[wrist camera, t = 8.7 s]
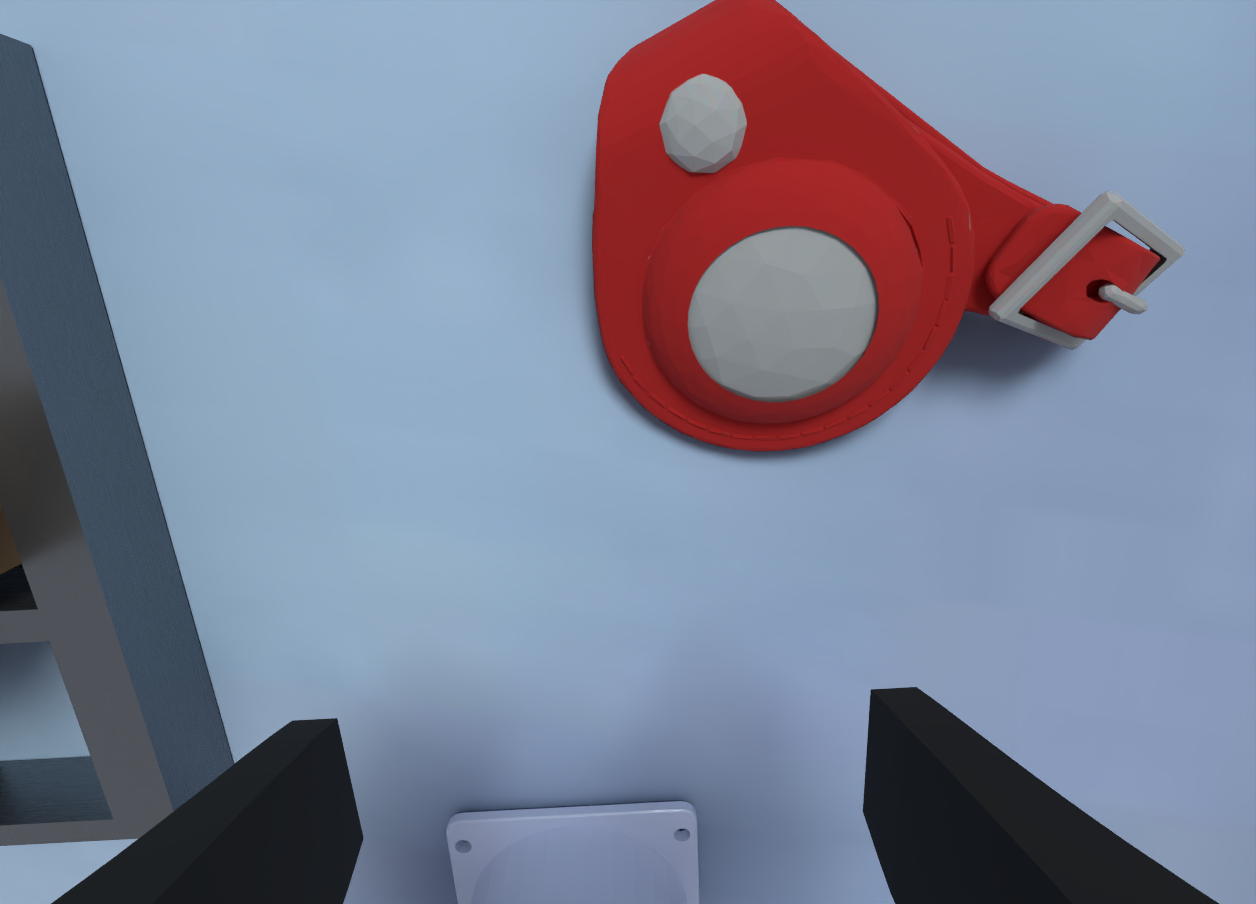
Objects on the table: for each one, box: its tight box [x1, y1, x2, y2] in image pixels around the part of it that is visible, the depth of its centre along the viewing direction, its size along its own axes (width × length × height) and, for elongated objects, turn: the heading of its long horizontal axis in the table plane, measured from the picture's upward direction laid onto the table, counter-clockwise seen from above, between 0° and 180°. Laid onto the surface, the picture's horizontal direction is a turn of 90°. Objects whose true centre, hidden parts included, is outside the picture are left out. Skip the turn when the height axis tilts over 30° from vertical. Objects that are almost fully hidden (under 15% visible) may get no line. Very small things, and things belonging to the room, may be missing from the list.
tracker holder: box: [592, 0, 1185, 451], centre depth 14 cm, size 13×5×10 cm
